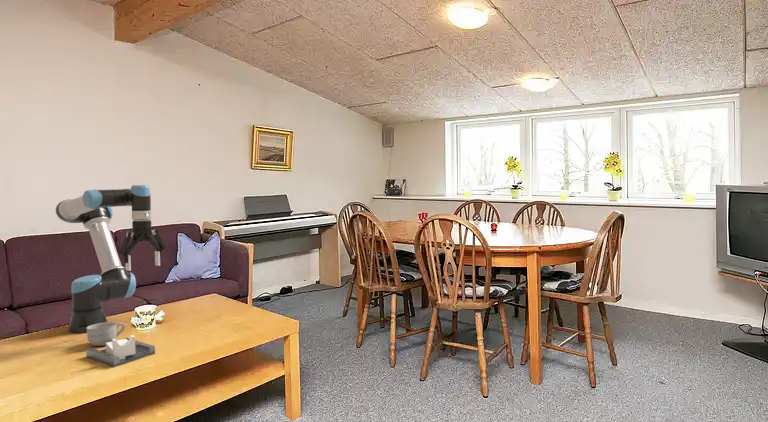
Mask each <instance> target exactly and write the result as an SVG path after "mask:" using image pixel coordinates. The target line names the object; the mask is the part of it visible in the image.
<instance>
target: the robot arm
mask: <svg viewBox="0 0 768 422" xmlns="http://www.w3.org/2000/svg"><path fill="white" fill-rule="evenodd" d="M151 195H152V194H151V187H150V186H149V185H148V184H133V185H131V187H130V188H121V189H120V188H119V189H91V190H90V189H89V190H85V191H84V192H83V193H82V195H80V196H78V197H75V198H69V199H68V198H67V199H65V200H62V201H60V202H59V203H58V204H57V205H56V207H55V214H56V216H57V218H58V219H59V220H61V221H63V222H65V223H68V224H69V223H70V224H83V228H85V229H87V230H88V231H89V234H90V237H91V241H92V243H93V244H92V245H93V248H94V250H95V253H96V257H97V259H98V260H97V261H98V262H99V266H100V269H101V273H100V274H91V275H90V274H89V275H84V276H81V277H78V278H76V279H74V280H73V281H72V282H71V287H70V288H71V289H70V292H71V307H72V314H71V317H70V320H69V323H68V332H69V333H73V334H74V333H75V334H76V333H77V334H80V333H87V329H86V328H87V327H88V326H91V325H94V324H98V323H105V322H108V320H107V319H108V318H107V317H106V314H105V312H104V310H103V303H107V302H111V301H117V300H124V299H125V298H130V297H132V296H133V295H134V293H135V292H136V289H137V288H136V287H137V280H136V277H135V275H134V273H133V272H129V271H132V262H131V261H132V260H131V257H132V256H131V255H130V253H131V252H132V250H133V249H134V248H135V247H136V245H137V244H138V243H139V242H140V243H141V242H149V244H150V245H151V246H152V248H154V250H155V251H154V266H158V267H160V266H161V258H162V252H163V251H164V250H165V249H166V246H165V244H164V242H163V240H162V238H161V236H160V233H159V230H158V229H152V221H151V219H152V214H151V213H152V209H151V208H152V206H151V205H152V204H151V201H152V199H151ZM112 207H131V219H132V220H133V221H131V225H132V228H131V229H132V232H131V231H130V232H128V231H126V232H125V235H124V236H125V237H124V240H123V241H122V244H121V246H120V248H119V251H117V248H116V244H115V241H114V239H113V235H112V233H111V229H110V226H109V224H110V223H111V219H112V218H113V208H112ZM152 235H153V237H154V238H153V237H152ZM132 237H133V238H132ZM154 239H155V240H154ZM119 255H121V256H122V257H123V264H125V266H123V265H122V262H121V260H120V257H119Z"/></svg>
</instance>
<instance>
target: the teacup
mask: <svg viewBox="0 0 768 422" xmlns="http://www.w3.org/2000/svg"><path fill="white" fill-rule="evenodd" d="M120 325H121V326H122V328H121V329H120V330H119V331H118V330H117V329H118V327H119V326H120ZM86 329H87V332H86V336H87V342H88V343H89V344H91V345H93V346H94V347H103V346H106V343H107V342H112V339H116V338H117V337H119V335H120V334H121V333H123V332H124V331H125V329H126V325H125V323H124V322H121V321H120V322H117V323H116V322H113V321H107V322H105V323H98V324H94V325H91V326H88V327H87V328H86ZM117 331H118V332H117Z"/></svg>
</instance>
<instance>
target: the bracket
mask: <svg viewBox="0 0 768 422" xmlns="http://www.w3.org/2000/svg"><path fill="white" fill-rule="evenodd" d="M135 340H136V336H135V335H134V334H131V335H129V340H127V339H124V338H122V339H116V338H115V339H112V342H107V343H106V345H105V349H106V352H107V353H108V354H111V355H114V356H117V357H119V360H121V359H125V356H128V355H132V354H136V351H135Z"/></svg>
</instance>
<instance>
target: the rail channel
mask: <svg viewBox="0 0 768 422" xmlns="http://www.w3.org/2000/svg"><path fill="white" fill-rule="evenodd" d="M123 339H127V340H129V339H130V337H129V338H128V337H125V338H123ZM155 347H156V346H155V345H154V344H153V345H152V344H149V343H145V342H142V341H139V340H136V339H135V351H136V354H132V355H128V356H125V359H121V360H119V357H117V356H114V355H111V354H108V353H107V352H106V348H104V349H100V350H99V349H97V348H96V349H95V348H93V347H90V348H87V349H85V353H86V354H85V355H86V357H85V358H88V359H91V360H93V361H96V362H98V361H99V363H101V362H102V363H101V364H104V363H105V365H107V364H108V366H110V367H113V368H116V367H119V366H122V365H125V364H127V363H130V362H134V361H137V360H139V359H142V358H146V357H148V356H152V355H154V354H156V348H155Z"/></svg>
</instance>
